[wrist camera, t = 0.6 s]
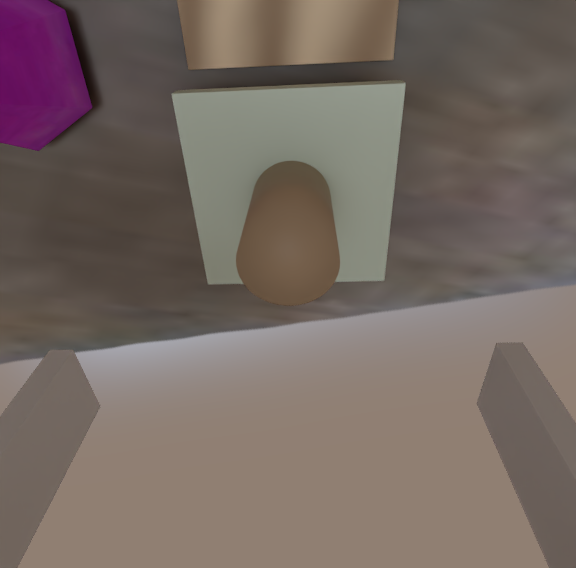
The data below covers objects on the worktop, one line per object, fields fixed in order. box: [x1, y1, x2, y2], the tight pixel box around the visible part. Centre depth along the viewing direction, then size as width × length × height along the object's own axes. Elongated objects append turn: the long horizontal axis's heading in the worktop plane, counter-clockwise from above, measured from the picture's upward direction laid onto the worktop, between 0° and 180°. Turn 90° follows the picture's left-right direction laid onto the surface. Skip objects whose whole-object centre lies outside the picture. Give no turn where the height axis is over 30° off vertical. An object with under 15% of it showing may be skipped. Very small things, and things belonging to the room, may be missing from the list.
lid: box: [172, 80, 406, 306], centre depth 23 cm, size 13×13×9 cm
